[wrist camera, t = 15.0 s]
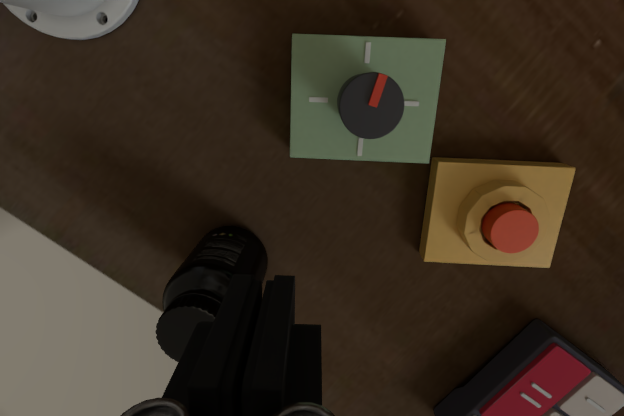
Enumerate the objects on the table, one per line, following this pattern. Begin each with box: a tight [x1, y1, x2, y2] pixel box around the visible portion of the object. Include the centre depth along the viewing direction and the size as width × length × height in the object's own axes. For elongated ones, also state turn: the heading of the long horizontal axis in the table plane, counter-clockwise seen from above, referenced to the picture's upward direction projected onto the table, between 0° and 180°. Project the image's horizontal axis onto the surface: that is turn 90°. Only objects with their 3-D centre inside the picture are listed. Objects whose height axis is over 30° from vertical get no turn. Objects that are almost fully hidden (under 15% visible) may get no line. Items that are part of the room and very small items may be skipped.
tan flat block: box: [419, 157, 576, 268], centre depth 32 cm, size 11×9×4 cm
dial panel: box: [290, 34, 446, 163], centre depth 30 cm, size 11×9×3 cm
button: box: [482, 203, 539, 253], centre depth 30 cm, size 4×4×2 cm
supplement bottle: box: [156, 226, 268, 362], centre depth 31 cm, size 7×7×12 cm
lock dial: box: [337, 72, 404, 139], centre depth 26 cm, size 4×4×6 cm
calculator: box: [434, 319, 624, 416], centre depth 39 cm, size 11×4×15 cm
